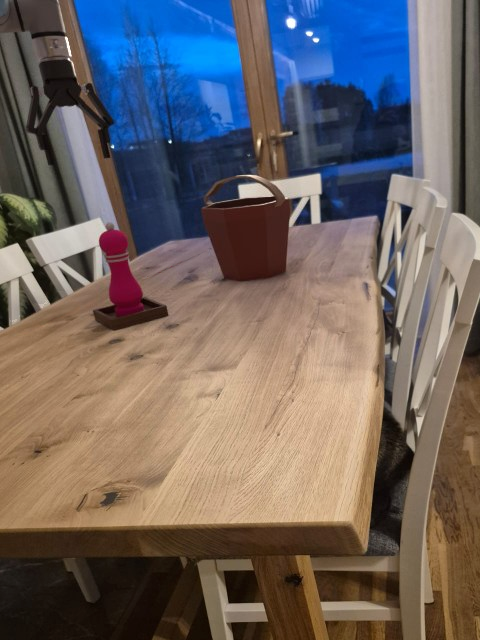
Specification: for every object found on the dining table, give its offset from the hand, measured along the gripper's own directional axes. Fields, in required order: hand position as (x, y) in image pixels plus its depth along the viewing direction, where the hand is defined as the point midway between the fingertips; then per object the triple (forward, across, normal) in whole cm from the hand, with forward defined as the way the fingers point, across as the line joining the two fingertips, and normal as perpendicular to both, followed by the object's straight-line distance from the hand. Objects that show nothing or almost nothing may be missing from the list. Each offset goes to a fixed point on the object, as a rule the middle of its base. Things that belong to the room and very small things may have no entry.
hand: (80, 161), depth 140 cm
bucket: (+33, +35, -16) cm, 51 cm away
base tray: (+33, -6, -28) cm, 43 cm away
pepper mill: (+32, -6, -28) cm, 43 cm away
